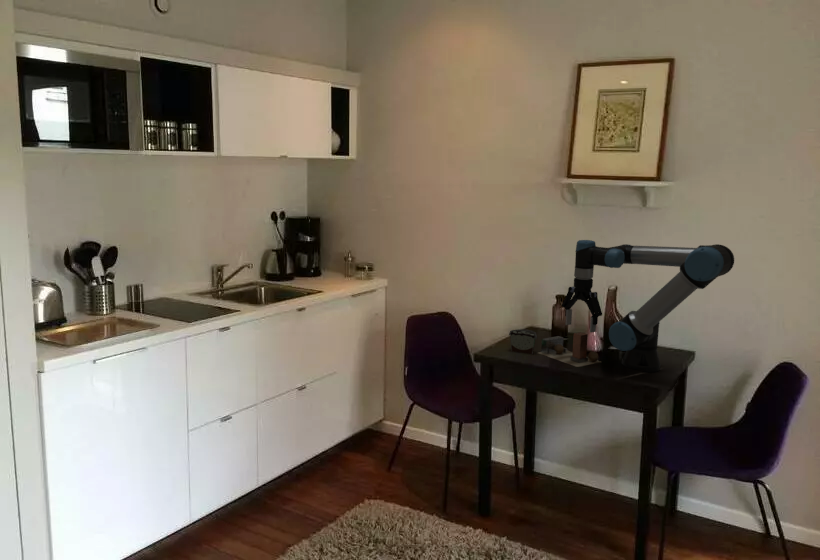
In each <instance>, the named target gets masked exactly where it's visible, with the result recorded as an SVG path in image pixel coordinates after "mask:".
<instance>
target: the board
mask: <svg viewBox="0 0 820 560" xmlns="http://www.w3.org/2000/svg"><path fill="white" fill-rule="evenodd" d="M537 354H539V355H542V356H545V357H548V358H551V359H553V360H557V361H559V362H562V363H565V364H568V365H571V366H573V367H576V368H581V367H585V366H589V365H593V364H599V363H602V361H599V359H598V360H597V361H594V362H593V361H590V360H589V358H588V361H586V362H582V363H578V362H575V361H572V360H570V357H571V356H572V355H573V351H570V350H567V353H566V354H565V353H561V354H557V353H556V356H553V355H551V354H545V353H542V352H541V351H540V352H539V351H538V352H537Z"/></svg>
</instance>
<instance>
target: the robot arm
mask: <svg viewBox="0 0 820 560" xmlns="http://www.w3.org/2000/svg"><path fill="white" fill-rule="evenodd" d="M596 245H597V244H596V241H594V240H589V239H581V240H580V239H579V240H577V242H576V246H575V261H574V264H575V265H574V275H573V276H574V278H573V286H569V287H568V289H567V293H566V295H565V297H564V300H563V301H562V303H561V307H562V308H564V311H565V312H564V317H565V326H569V325H572V318H573V306H574V305H575V303H576V302H578V301H582V302H584V303H585V305H586V306H587V308H588V310H589V312H590V315H591V316H590V321H589V333H595V332H596V331H597V324H598V321H599V317H602V316H603V312H602V308H601V305H600V301H599V299H598V292H597V291H592V288H593V286H594V284H593V281H594V280H593V278H594V269H595V267H594V266H599V267H605V268H606V267H607V268H610V269H613V268H614V269H620V268H621V267H622V266H623V265H626V264H627V265H628V264H629V265H643V266H645V265H646V266H661V267H662V266H663V267H677V268H679V271H678V272H677V273H676V275H674V276H673V277H672V278H671V279H670V280H669V281H668V282H666V283H665V285H663V287H661V288H660V289H659V291H657V292H656V293H655V294H654V295H653V296H651V298H649V300H647V301H646V302H645V303H644V304H643V305H642V306H640V308H638V309H637V310H631V311H629V312H628V313H627V314H626V315H624V317H623V318H621V319H620V320H619V321H616V322H614V323H613V324H612V325H610V327H609V329H608V338H609V342H610V343H611V345H612V346H613V347H614V349H616V350H618V351H621V352H622V351H623V352H624V355H623V357H622V359H621V364H622V366H623V367H626V368H629V369H632V370H638V371H642V373H655V372H658V371H660V370H661V361H660V358H659V354H658V353H659V352H658V343H659V342H658V341H659V330H660V329H659V328H660V324H661V323H660V322H661V321H662V320H663V319H664V318H666V317H667V316H668V315H669V314H670V313H671V312H672V311H674V309H676V308H677V307H679V305H680V304H682V303H683V302H684V301H685V300H686V299H687V298H688V297H689V296H690V295H692V294H693V293H694V292H695V291H696V290H698V289H699V290H704V289H705V288H706V287H708V286H709V285H710V284H711V283H712V282H713V281H714V280H715V279H718V277H721V276H724V275H726V274H728V273H729V272H731V270H732V269H733V267H734V266H735V255H734V253H733V251H732V250H731V249H730V248H729V247H728V246H726V245H723V244H712V245H711V244H710V245H707V244H706V245H701V244H700V245H698V246H697V247H684V246H683V247H681V246H679V247H678V246H658V245H657V246H653V245H651V246H649V245H631V244H629V243H628V244H620V245H616V246H609V247H602V246H596Z"/></svg>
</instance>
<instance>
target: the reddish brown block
mask: <svg viewBox="0 0 820 560" xmlns="http://www.w3.org/2000/svg"><path fill="white" fill-rule="evenodd" d="M588 337H589V336H588V333H584V332H581V331H580V332H575V333H573V338H572V339H573V340H572V352H573V355H572V356H571V357H570V360H572V361H575V362H578V363H582V362H586V361H588V356H587V355H588V354H587V350H588Z"/></svg>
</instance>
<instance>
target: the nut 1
mask: <svg viewBox="0 0 820 560" xmlns="http://www.w3.org/2000/svg"><path fill="white" fill-rule="evenodd" d="M564 348H565V347H564V345H563V346H562V345H560V344H557V345H555V347H554V350H555V351H556V353H557V354H561V353H562V352H563V351H564Z"/></svg>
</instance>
